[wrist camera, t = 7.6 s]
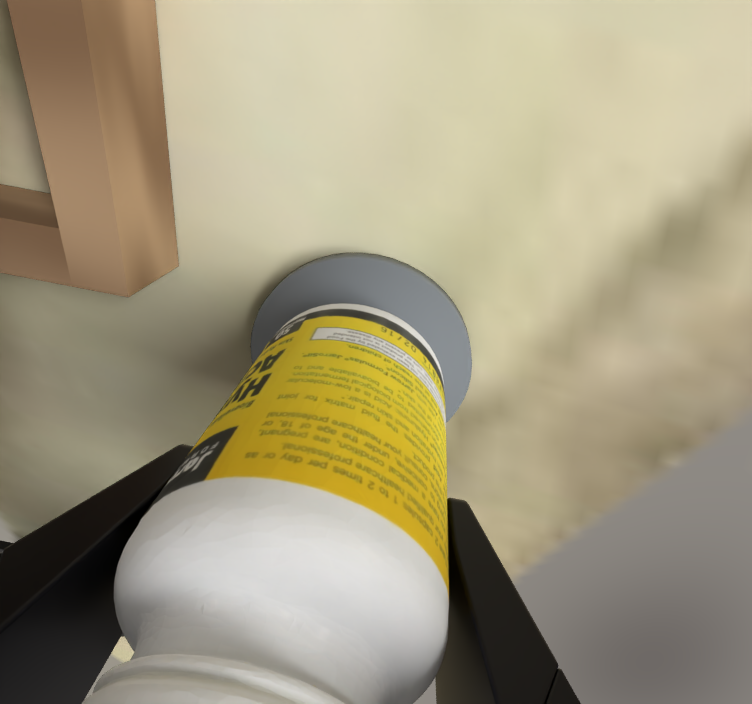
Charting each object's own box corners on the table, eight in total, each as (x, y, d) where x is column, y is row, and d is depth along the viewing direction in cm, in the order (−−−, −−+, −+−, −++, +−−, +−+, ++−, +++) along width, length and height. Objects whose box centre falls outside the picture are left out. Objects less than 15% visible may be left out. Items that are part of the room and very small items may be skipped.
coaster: (442, 455, 16) (442, 467, 15) (256, 419, 16) (250, 429, 15) (498, 277, 12) (501, 285, 12) (258, 232, 12) (250, 237, 12)
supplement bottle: (291, 265, 11) (-138, 744, 3) (477, 342, 12) (592, 950, 3) (247, 412, 14) (-40, 883, 5) (399, 470, 14) (352, 984, 6)
